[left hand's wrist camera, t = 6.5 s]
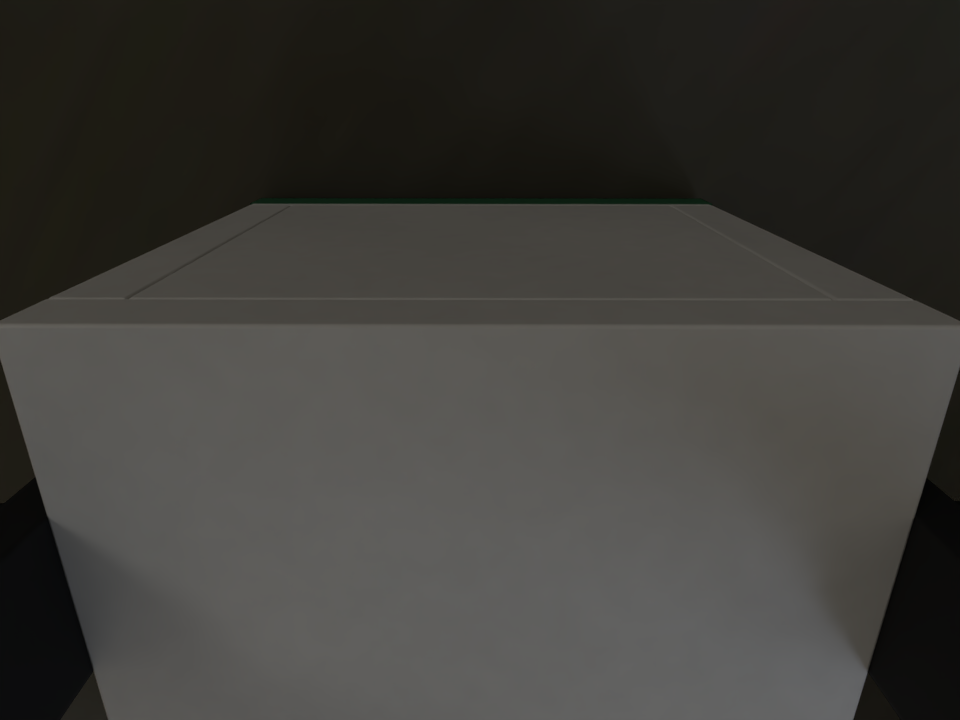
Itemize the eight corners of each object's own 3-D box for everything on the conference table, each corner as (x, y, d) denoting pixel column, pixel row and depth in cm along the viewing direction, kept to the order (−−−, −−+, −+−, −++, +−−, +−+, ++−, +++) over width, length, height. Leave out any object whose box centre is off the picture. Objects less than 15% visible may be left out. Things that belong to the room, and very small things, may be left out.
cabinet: (634, 722, 24) (733, 1123, 14) (325, 721, 24) (225, 1121, 14) (701, 198, 17) (976, 324, 7) (261, 198, 17) (-15, 323, 7)
